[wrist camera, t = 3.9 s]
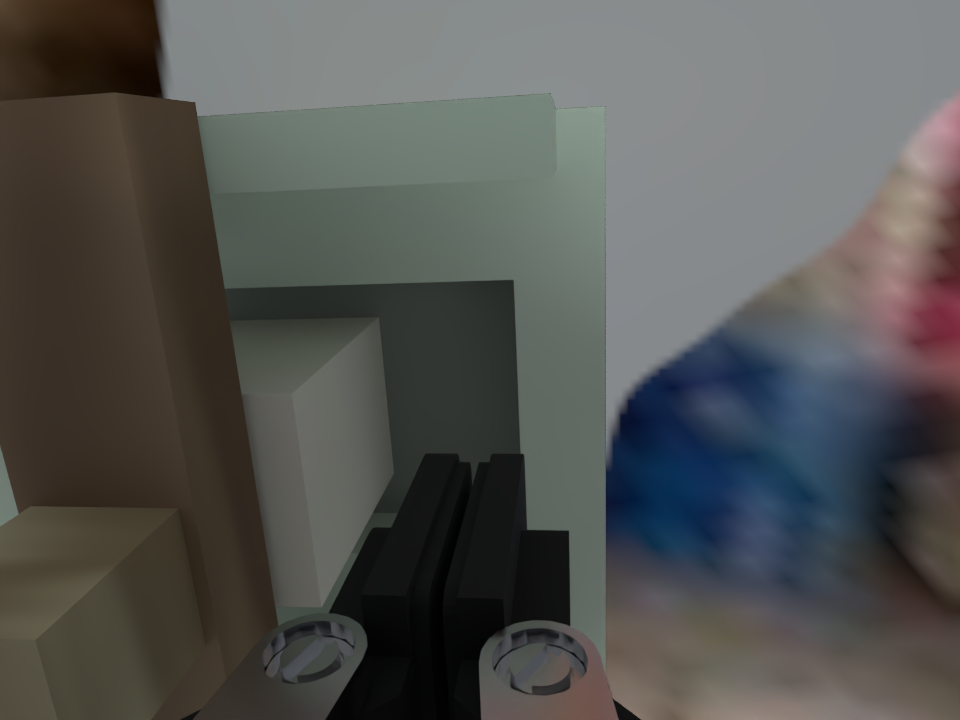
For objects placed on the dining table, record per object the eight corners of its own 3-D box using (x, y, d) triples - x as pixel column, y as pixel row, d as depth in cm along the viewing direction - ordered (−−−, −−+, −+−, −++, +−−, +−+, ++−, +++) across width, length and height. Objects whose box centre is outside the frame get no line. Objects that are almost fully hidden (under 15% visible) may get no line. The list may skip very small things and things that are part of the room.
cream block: (379, 316, 18) (291, 393, 12) (393, 473, 19) (321, 607, 14) (217, 320, 19) (64, 395, 13) (242, 472, 20) (112, 600, 14)
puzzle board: (599, 112, 16) (619, 88, 10) (601, 615, 20) (616, 826, 14) (-320, 168, 20) (-738, 177, 14) (-165, 590, 24) (-432, 750, 17)
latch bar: (194, 102, 11) (-99, 65, 6) (309, 815, 15) (186, 1127, 10) (20, 114, 11) (-384, 88, 6) (178, 805, 15) (1, 1102, 11)
